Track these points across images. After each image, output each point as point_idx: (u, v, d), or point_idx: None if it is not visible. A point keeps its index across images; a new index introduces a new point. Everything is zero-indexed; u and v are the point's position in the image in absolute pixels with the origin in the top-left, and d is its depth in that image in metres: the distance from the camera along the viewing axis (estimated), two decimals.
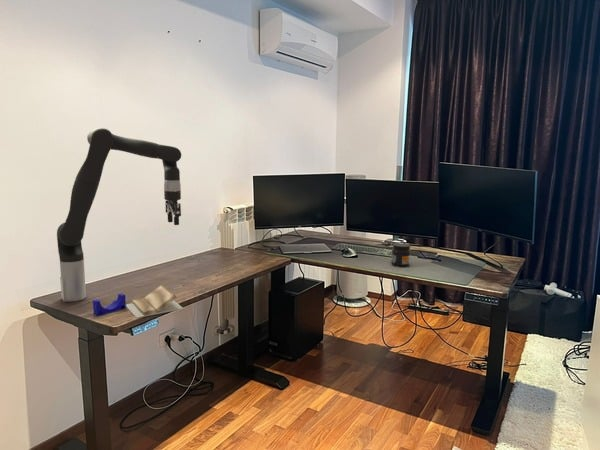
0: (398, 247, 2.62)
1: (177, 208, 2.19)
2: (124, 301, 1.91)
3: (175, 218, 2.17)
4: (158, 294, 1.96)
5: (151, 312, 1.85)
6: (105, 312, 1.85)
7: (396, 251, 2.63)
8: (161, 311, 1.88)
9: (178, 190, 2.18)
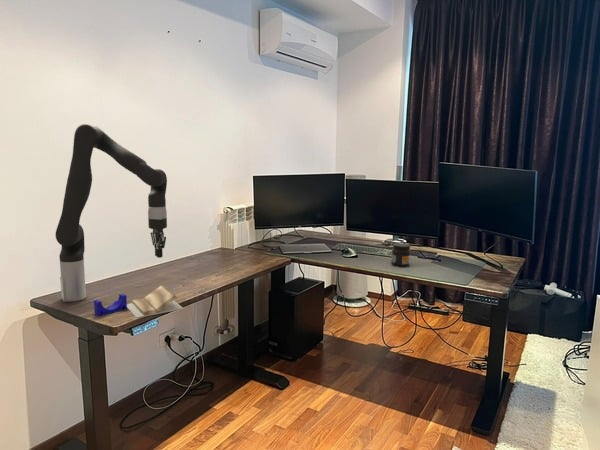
0: (398, 247, 2.62)
1: None
2: (125, 301, 1.90)
3: (158, 250, 1.97)
4: (158, 294, 1.96)
5: (151, 312, 1.85)
6: (106, 312, 1.85)
7: (396, 251, 2.63)
8: (161, 311, 1.88)
9: (164, 218, 1.95)
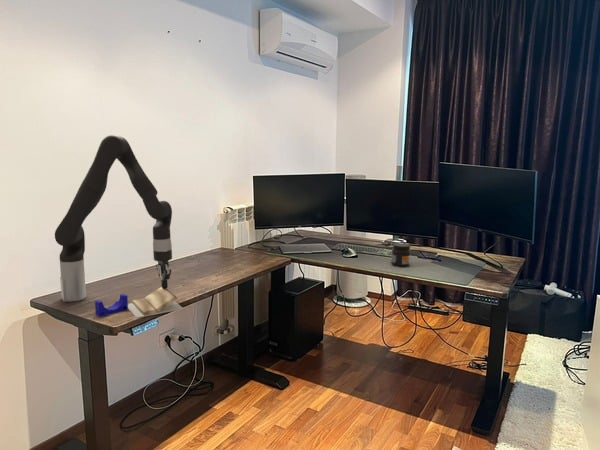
0: (398, 247, 2.62)
1: None
2: (126, 302, 1.90)
3: (163, 281, 1.98)
4: (159, 295, 1.96)
5: (151, 312, 1.85)
6: (107, 313, 1.84)
7: (396, 251, 2.63)
8: (161, 311, 1.88)
9: (169, 249, 1.95)
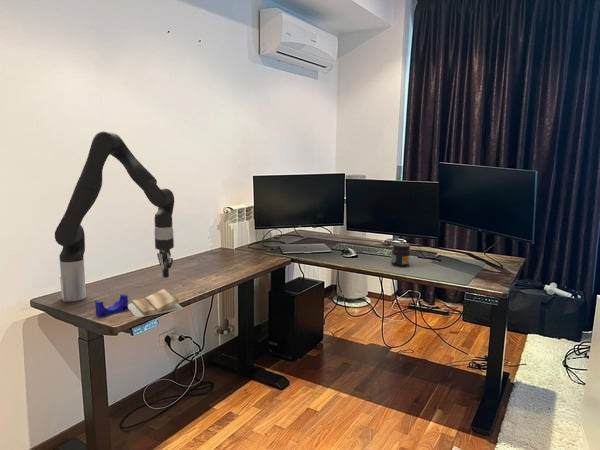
0: (398, 247, 2.62)
1: None
2: (126, 302, 1.90)
3: (164, 270, 1.95)
4: (160, 296, 1.96)
5: (151, 312, 1.85)
6: (108, 313, 1.84)
7: (396, 251, 2.63)
8: (161, 311, 1.88)
9: (170, 238, 1.92)
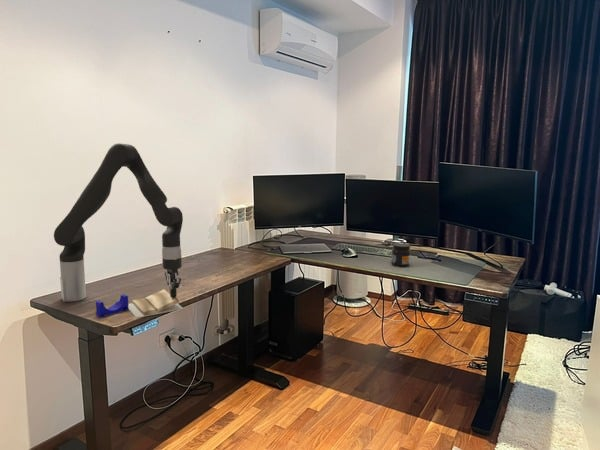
0: (398, 247, 2.62)
1: None
2: (127, 302, 1.89)
3: (172, 290, 1.91)
4: (160, 296, 1.96)
5: (151, 312, 1.85)
6: (108, 313, 1.84)
7: (396, 251, 2.63)
8: (161, 311, 1.88)
9: (178, 257, 1.88)
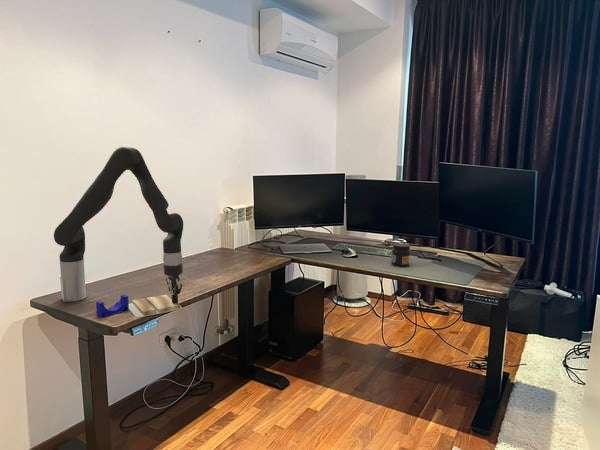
0: (398, 247, 2.62)
1: None
2: (127, 302, 1.89)
3: (173, 296, 1.92)
4: (162, 300, 1.97)
5: (151, 312, 1.85)
6: (108, 314, 1.83)
7: (396, 251, 2.63)
8: None
9: (179, 263, 1.89)
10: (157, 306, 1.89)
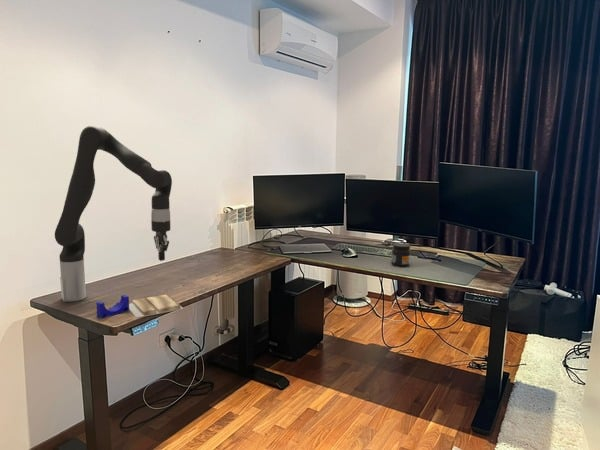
0: (398, 247, 2.62)
1: None
2: (127, 303, 1.89)
3: (160, 253, 1.93)
4: (162, 300, 1.97)
5: (151, 312, 1.85)
6: (109, 314, 1.83)
7: (396, 251, 2.63)
8: None
9: (167, 220, 1.90)
10: (157, 306, 1.89)
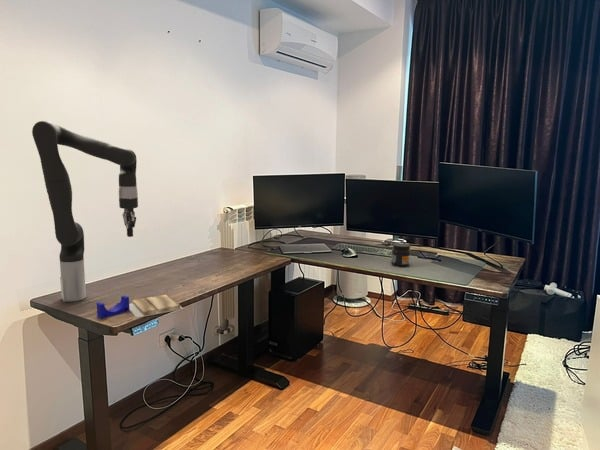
0: (398, 247, 2.62)
1: None
2: (128, 303, 1.88)
3: (128, 229, 2.00)
4: (162, 300, 1.97)
5: (151, 312, 1.85)
6: (109, 315, 1.82)
7: (396, 251, 2.63)
8: None
9: (134, 197, 1.97)
10: (157, 306, 1.89)
